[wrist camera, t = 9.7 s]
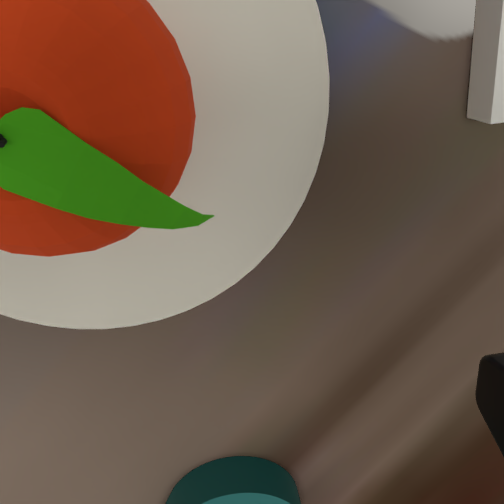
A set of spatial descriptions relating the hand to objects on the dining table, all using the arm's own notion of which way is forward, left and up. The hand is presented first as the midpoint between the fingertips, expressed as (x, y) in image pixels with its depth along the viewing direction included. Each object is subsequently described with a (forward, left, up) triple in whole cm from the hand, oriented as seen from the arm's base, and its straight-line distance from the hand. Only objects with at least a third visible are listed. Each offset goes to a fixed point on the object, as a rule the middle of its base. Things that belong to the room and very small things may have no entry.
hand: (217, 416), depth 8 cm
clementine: (+3, -4, -10) cm, 11 cm away
